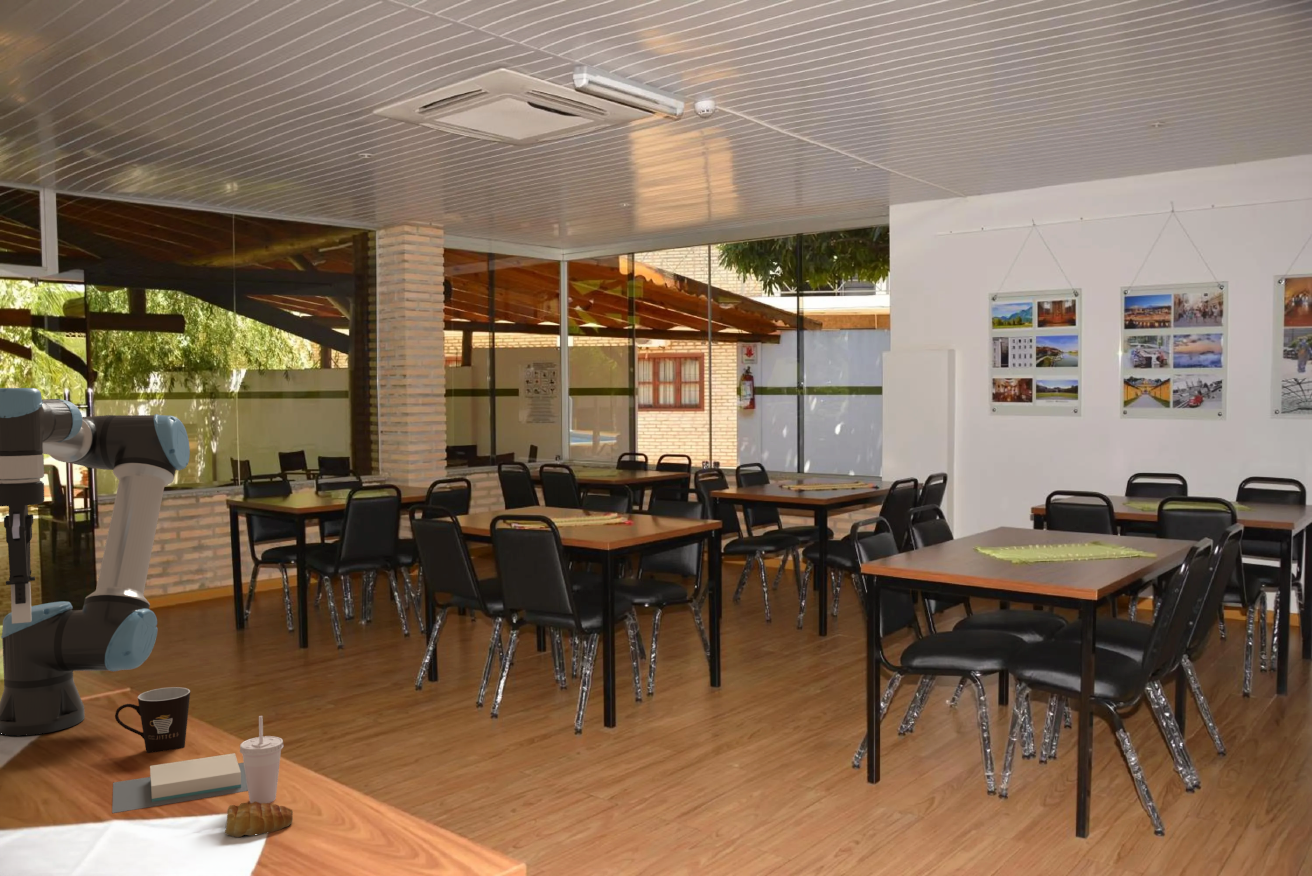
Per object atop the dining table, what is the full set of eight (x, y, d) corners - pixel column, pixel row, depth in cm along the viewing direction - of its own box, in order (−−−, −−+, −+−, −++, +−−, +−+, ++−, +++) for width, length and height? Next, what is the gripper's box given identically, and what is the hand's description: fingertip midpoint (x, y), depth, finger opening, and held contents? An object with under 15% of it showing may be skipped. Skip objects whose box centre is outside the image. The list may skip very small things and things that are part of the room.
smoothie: (238, 813, 159) (236, 723, 158) (243, 797, 165) (241, 711, 165) (282, 809, 161) (281, 719, 160) (286, 793, 167) (284, 707, 166)
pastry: (292, 815, 159) (292, 790, 159) (293, 833, 153) (292, 807, 152) (226, 824, 156) (225, 799, 155) (224, 843, 149) (223, 817, 149)
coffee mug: (200, 741, 192) (199, 687, 192) (174, 757, 184) (173, 701, 183) (141, 739, 194) (140, 686, 193) (112, 755, 185) (111, 700, 185)
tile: (150, 765, 171) (234, 753, 177) (150, 780, 171) (235, 767, 177) (151, 786, 162) (240, 772, 168) (151, 802, 162) (241, 787, 168)
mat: (113, 786, 170) (113, 782, 170) (243, 765, 179) (243, 762, 179) (112, 817, 158) (112, 813, 158) (252, 793, 167) (252, 789, 167)
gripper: (-5, 479, 176) (-1, 616, 177) (-14, 484, 165) (-10, 632, 166) (46, 477, 180) (50, 612, 181) (41, 482, 168) (45, 627, 169)
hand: (21, 621), depth 173 cm, fingers closed
